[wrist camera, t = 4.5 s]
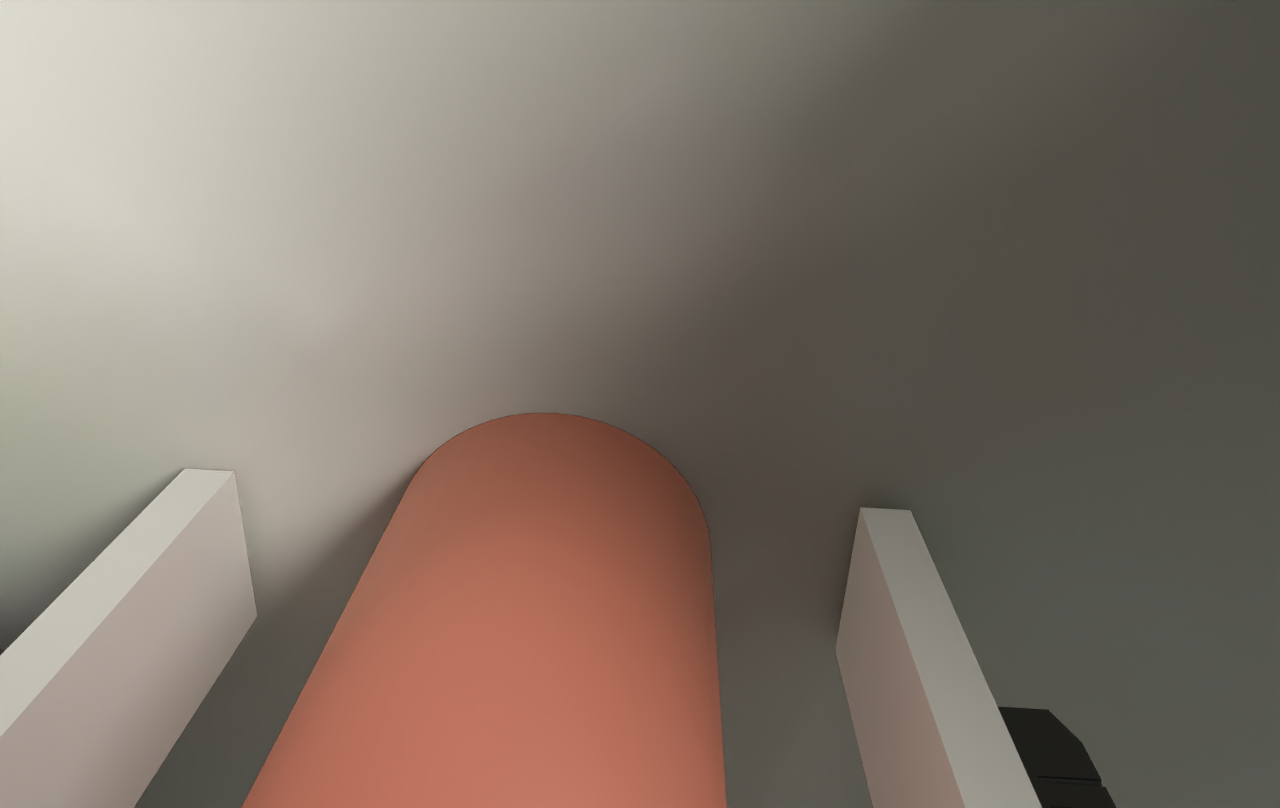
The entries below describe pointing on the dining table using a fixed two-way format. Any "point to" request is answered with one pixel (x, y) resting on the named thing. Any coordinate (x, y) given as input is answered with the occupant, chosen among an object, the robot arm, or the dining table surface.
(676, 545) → the pink tall rounded piece
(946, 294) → the dining table surface
